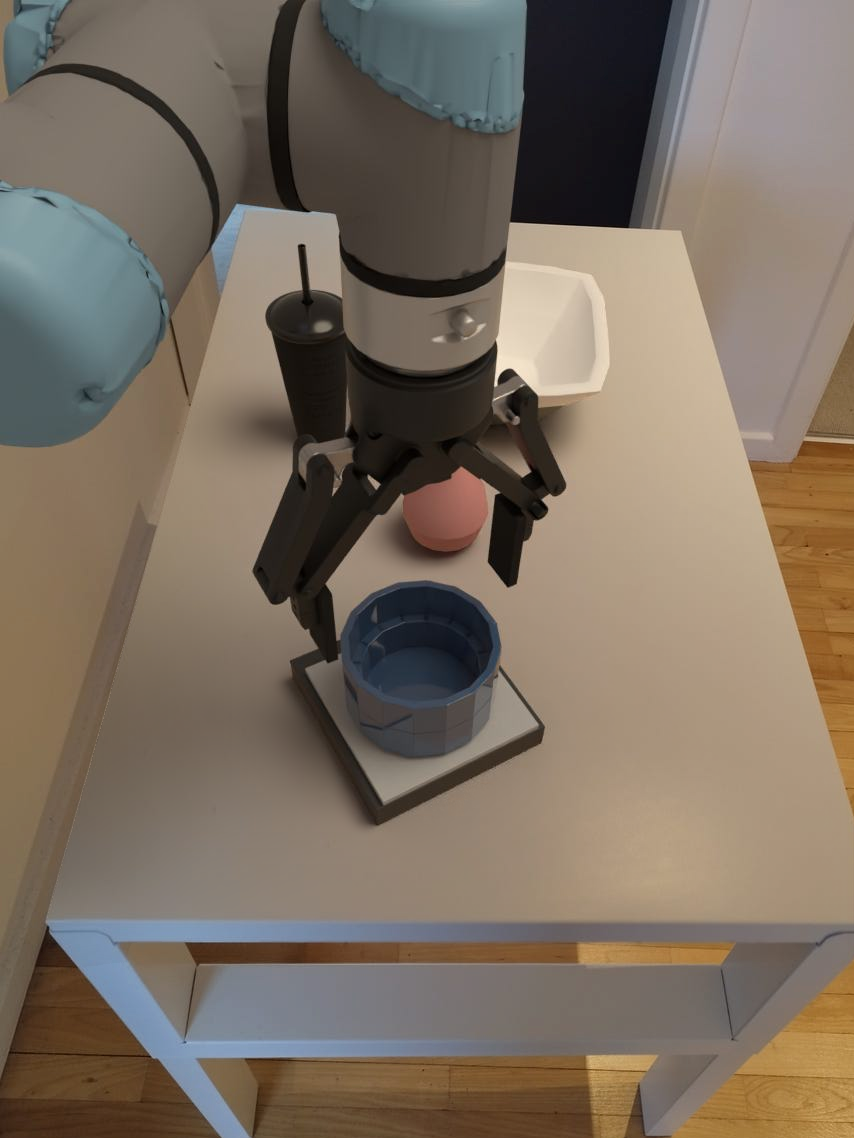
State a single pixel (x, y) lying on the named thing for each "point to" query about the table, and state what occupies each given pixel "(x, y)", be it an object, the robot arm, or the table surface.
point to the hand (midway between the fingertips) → (416, 608)
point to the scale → (402, 778)
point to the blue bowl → (420, 667)
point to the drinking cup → (311, 356)
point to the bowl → (552, 334)
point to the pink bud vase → (447, 512)
